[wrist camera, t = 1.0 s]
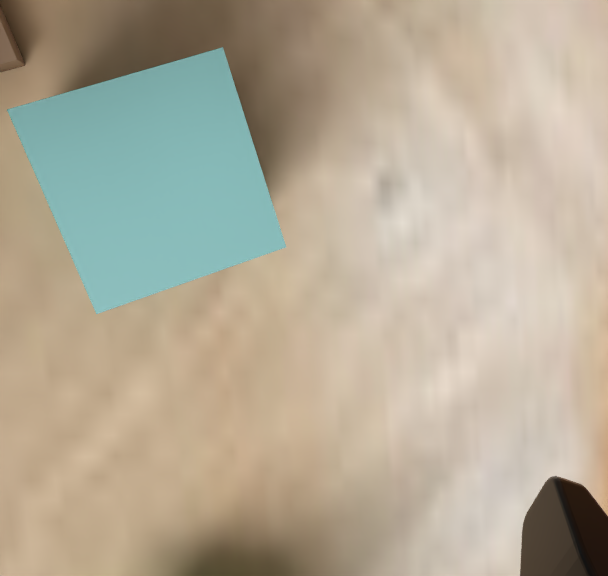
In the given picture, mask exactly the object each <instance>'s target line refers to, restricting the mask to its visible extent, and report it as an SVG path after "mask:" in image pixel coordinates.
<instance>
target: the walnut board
mask: <svg viewBox="0 0 608 576" xmlns="http://www.w3.org/2000/svg"><path fill="white" fill-rule="evenodd" d="M24 65H25V63H24V61H23V58H22V56H21V54H20V51H19V49H18V47H17V44H16V42H15V39H14V37H13V35H12V32H11V30H10V28H9V25H8V23H7V20H6V18H5V16H4V13H3V11H2V8H1V6H0V72H3V71H6V70H10V69H14V68H17V67H21V66H24Z"/></svg>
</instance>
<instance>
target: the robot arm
mask: <svg viewBox="0 0 608 576" xmlns="http://www.w3.org/2000/svg"><path fill="white" fill-rule="evenodd" d="M520 576H608V516H607V515H606V513H605V512H604V511H603V509H602V508H601V507H600V506H599V504H598V503H597V502H596V500H595V499H594V498H593V496H592V495H591V494H590V493H589V491H588V490H587V489H586V488H585V487H584V486H583V485H581V484H579V483H576V482H573V481H570V480H567V479H564V478H561V477H557V476H553V477H550V478H549V479H548V480H547V481H546V482H545V484H544V486H543V487H542V489H541V491H540V492H539V494H538V495H537V497H536V499H535V500H534V502H533V504H532V505H531V507H530V509H529V510H528V512H527V514H526V516H525V519H524V523H523V530H522V549H521V569H520Z"/></svg>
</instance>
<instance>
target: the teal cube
mask: <svg viewBox="0 0 608 576" xmlns="http://www.w3.org/2000/svg"><path fill="white" fill-rule="evenodd" d="M7 111H8V113H9V115H10V118H11V120H12V122H13V125H14V127H15V129H16V131H17V134H18V136H19V138H20V141H21V143H22V145H23V147H24V150H25V152H26V154H27V157H28V159H29V161H30V163H31V166H32V168H33V170H34V172H35V175H36V177H37V179H38V182H39V184H40V186H41V188H42V191H43V193H44V195H45V198H46V200H47V202H48V204H49V207H50V209H51V211H52V214H53V216H54V218H55V220H56V223H57V225H58V227H59V230H60V232H61V234H62V236H63V239H64V241H65V243H66V245H67V248H68V250H69V252H70V255H71V257H72V259H73V261H74V264H75V266H76V268H77V271H78V273H79V275H80V277H81V280H82V282H83V284H84V287H85V289H86V291H87V293H88V296H89V298H90V300H91V303H92V305H93V307H94V309H95V312H96V314H98V313H101V312H104V311H107V310H109V309H112V308H115V307H118V306H121V305H124V304H126V303H129V302H132V301H135V300H138V299H141V298H143V297H146V296H149V295H152V294H155V293H158V292H160V291H163V290H166V289H169V288H172V287H175V286H177V285H180V284H183V283H186V282H189V281H192V280H194V279H197V278H200V277H203V276H206V275H209V274H211V273H214V272H217V271H220V270H223V269H226V268H228V267H231V266H234V265H237V264H240V263H243V262H245V261H248V260H251V259H254V258H257V257H260V256H262V255H265V254H268V253H271V252H274V251H277V250H279V249H282V248H285V247H286V245H285V242H284V239H283V236H282V232H281V229H280V226H279V223H278V220H277V217H276V213H275V210H274V207H273V204H272V201H271V198H270V195H269V191H268V188H267V185H266V182H265V179H264V176H263V172H262V169H261V166H260V163H259V160H258V157H257V153H256V150H255V147H254V144H253V141H252V138H251V135H250V131H249V128H248V125H247V122H246V119H245V116H244V112H243V109H242V106H241V103H240V100H239V97H238V94H237V90H236V87H235V84H234V81H233V78H232V75H231V71H230V68H229V65H228V62H227V59H226V56H225V53H224V49H223V47H222V48H219V49H215V50H212V51H208V52H205V53H201V54H198V55H194V56H191V57H187V58H184V59H181V60H177V61H174V62H170V63H167V64H163V65H160V66H156V67H153V68H149V69H146V70H143V71H139V72H136V73H132V74H129V75H125V76H122V77H118V78H115V79H111V80H108V81H104V82H101V83H98V84H94V85H91V86H87V87H84V88H80V89H77V90H73V91H70V92H66V93H63V94H59V95H56V96H53V97H49V98H46V99H42V100H39V101H35V102H32V103H28V104H25V105H21V106H18V107H14V108H11V109H8V110H7Z"/></svg>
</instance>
